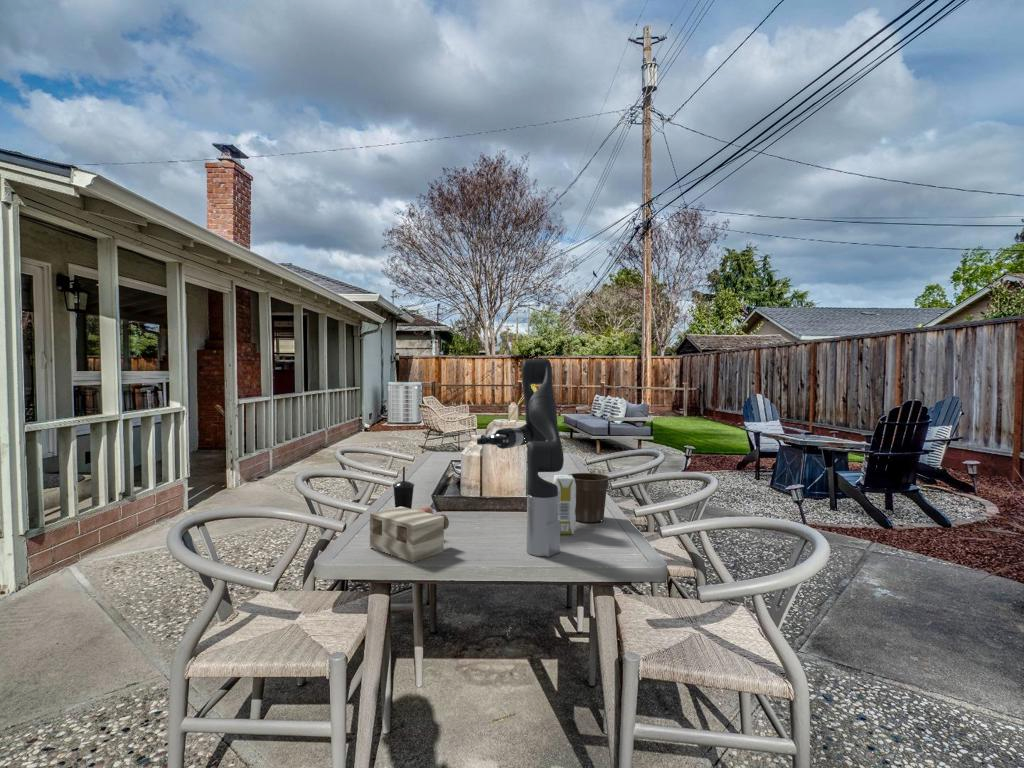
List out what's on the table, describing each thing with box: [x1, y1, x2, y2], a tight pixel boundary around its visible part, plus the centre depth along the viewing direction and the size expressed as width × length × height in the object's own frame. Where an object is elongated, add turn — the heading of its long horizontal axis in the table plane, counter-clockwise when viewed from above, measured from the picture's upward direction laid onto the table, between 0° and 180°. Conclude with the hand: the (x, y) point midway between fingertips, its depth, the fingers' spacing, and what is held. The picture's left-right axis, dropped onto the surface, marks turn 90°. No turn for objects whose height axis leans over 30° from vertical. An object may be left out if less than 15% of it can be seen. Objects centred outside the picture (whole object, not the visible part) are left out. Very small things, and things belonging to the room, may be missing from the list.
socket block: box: [369, 507, 445, 563], centre depth 154 cm, size 20×12×10 cm, turn 52°
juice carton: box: [552, 474, 577, 535], centre depth 176 cm, size 8×9×19 cm
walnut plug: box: [398, 514, 450, 541], centre depth 154 cm, size 5×16×5 cm, turn 142°
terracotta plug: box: [416, 506, 434, 514], centre depth 163 cm, size 5×16×5 cm, turn 143°
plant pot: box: [567, 472, 611, 523], centre depth 193 cm, size 16×16×16 cm
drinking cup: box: [392, 466, 415, 509], centre depth 184 cm, size 8×8×20 cm
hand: (478, 441), depth 180 cm, fingers closed
